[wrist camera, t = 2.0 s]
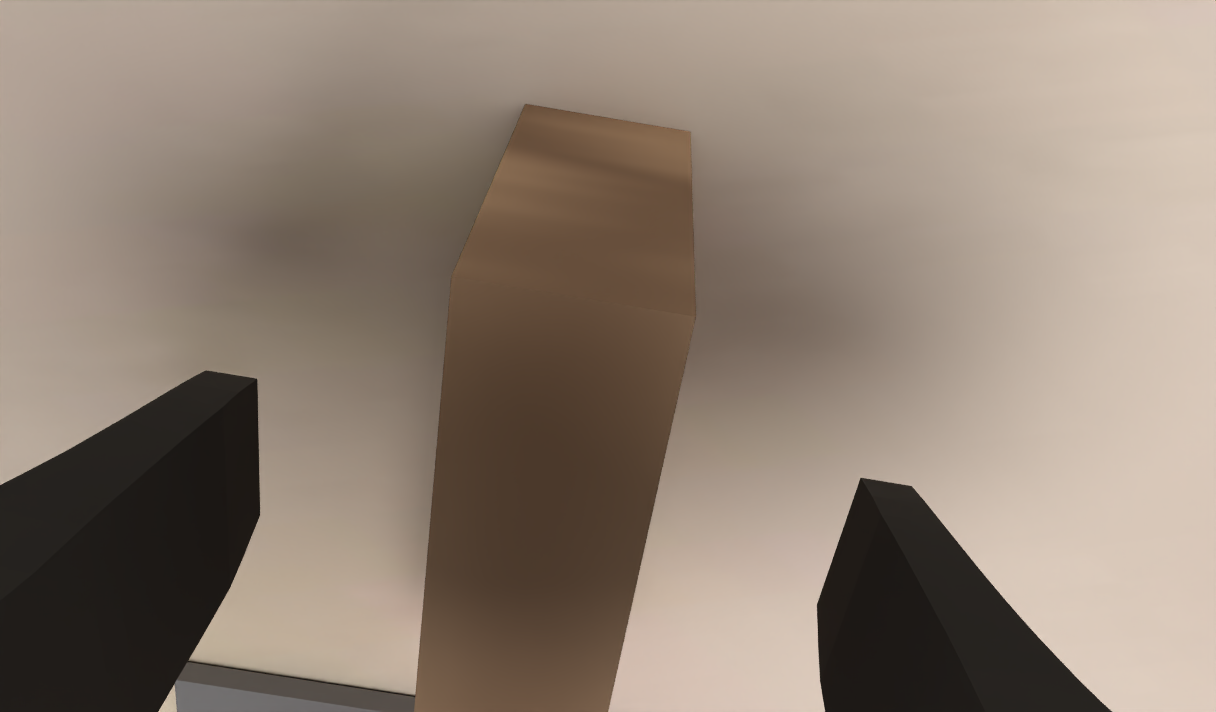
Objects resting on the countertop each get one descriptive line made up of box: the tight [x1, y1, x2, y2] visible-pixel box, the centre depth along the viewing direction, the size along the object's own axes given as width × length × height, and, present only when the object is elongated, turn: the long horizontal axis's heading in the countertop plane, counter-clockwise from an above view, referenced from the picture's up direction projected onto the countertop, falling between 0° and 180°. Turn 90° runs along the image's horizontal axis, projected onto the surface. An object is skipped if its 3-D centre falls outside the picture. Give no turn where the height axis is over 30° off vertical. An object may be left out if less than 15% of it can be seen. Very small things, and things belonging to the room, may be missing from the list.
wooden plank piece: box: [414, 104, 696, 712], centre depth 16 cm, size 2×10×6 cm, turn 171°
